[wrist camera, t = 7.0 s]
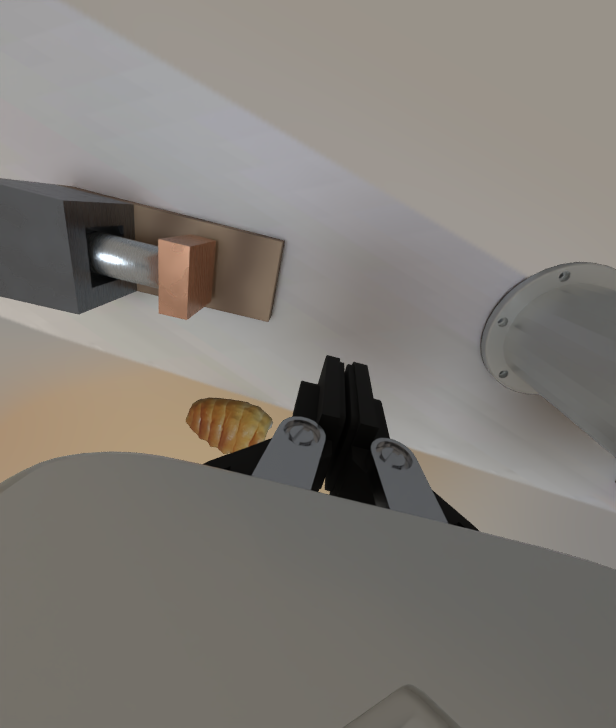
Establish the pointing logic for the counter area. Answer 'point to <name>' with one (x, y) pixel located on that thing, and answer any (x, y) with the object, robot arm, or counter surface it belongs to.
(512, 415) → the counter surface
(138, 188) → the counter surface
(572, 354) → the robot arm
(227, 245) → the shaft frame
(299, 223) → the counter surface
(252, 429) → the pastry
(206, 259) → the shaft
